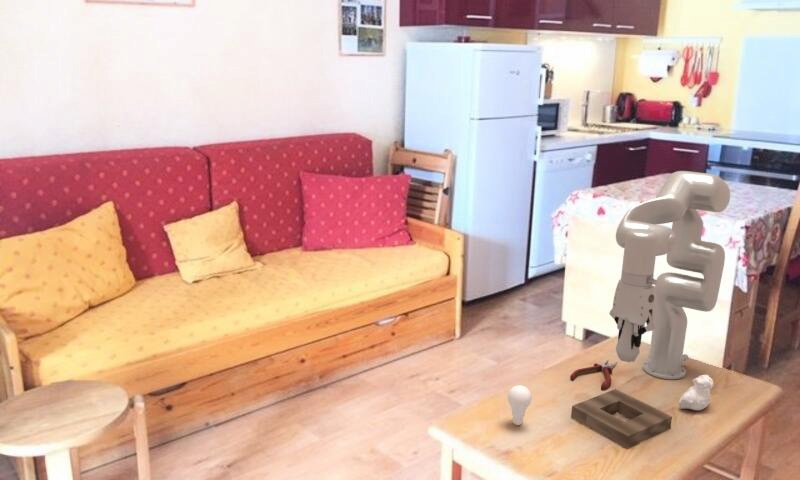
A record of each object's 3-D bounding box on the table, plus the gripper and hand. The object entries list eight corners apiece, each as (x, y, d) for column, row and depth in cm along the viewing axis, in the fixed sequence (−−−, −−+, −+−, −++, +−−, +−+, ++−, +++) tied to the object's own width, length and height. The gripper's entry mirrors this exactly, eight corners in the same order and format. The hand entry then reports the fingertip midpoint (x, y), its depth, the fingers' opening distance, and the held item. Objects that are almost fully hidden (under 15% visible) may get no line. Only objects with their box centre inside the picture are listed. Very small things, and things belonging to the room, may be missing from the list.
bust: (682, 421, 187) (711, 401, 179) (665, 397, 190) (692, 377, 183) (705, 408, 194) (734, 389, 187) (688, 385, 198) (715, 366, 190)
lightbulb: (532, 423, 179) (535, 385, 177) (524, 433, 174) (527, 394, 172) (510, 416, 182) (513, 379, 180) (502, 426, 177) (504, 388, 174)
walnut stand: (614, 400, 193) (615, 388, 192) (670, 428, 179) (672, 416, 178) (571, 417, 183) (572, 405, 182) (627, 448, 169) (628, 436, 168)
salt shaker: (610, 358, 176) (616, 311, 173) (621, 352, 180) (627, 305, 177) (631, 365, 172) (637, 317, 169) (642, 359, 176) (648, 312, 173)
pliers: (629, 370, 213) (630, 362, 213) (604, 393, 198) (605, 384, 197) (594, 359, 220) (595, 352, 219) (568, 381, 205) (568, 373, 204)
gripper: (674, 285, 166) (665, 354, 171) (619, 267, 179) (612, 332, 184) (655, 290, 162) (646, 361, 167) (600, 271, 175) (593, 338, 180)
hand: (628, 345), depth 175 cm, fingers closed on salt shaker, 3 cm apart
